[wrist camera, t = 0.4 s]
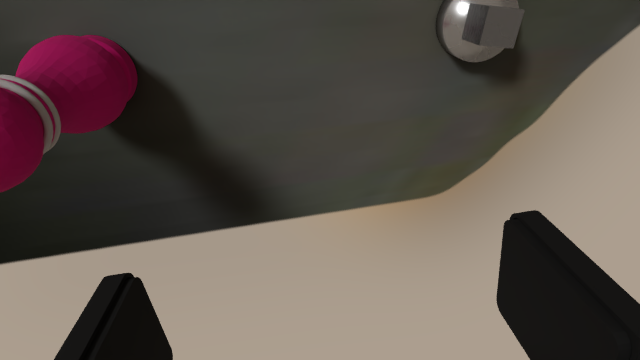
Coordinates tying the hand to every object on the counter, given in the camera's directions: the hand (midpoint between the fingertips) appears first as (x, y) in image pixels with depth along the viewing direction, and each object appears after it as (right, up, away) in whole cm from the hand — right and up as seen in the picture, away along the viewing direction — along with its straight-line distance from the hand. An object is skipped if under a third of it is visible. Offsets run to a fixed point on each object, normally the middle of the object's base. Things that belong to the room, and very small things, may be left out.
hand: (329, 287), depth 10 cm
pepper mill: (-19, +12, +24) cm, 34 cm away
